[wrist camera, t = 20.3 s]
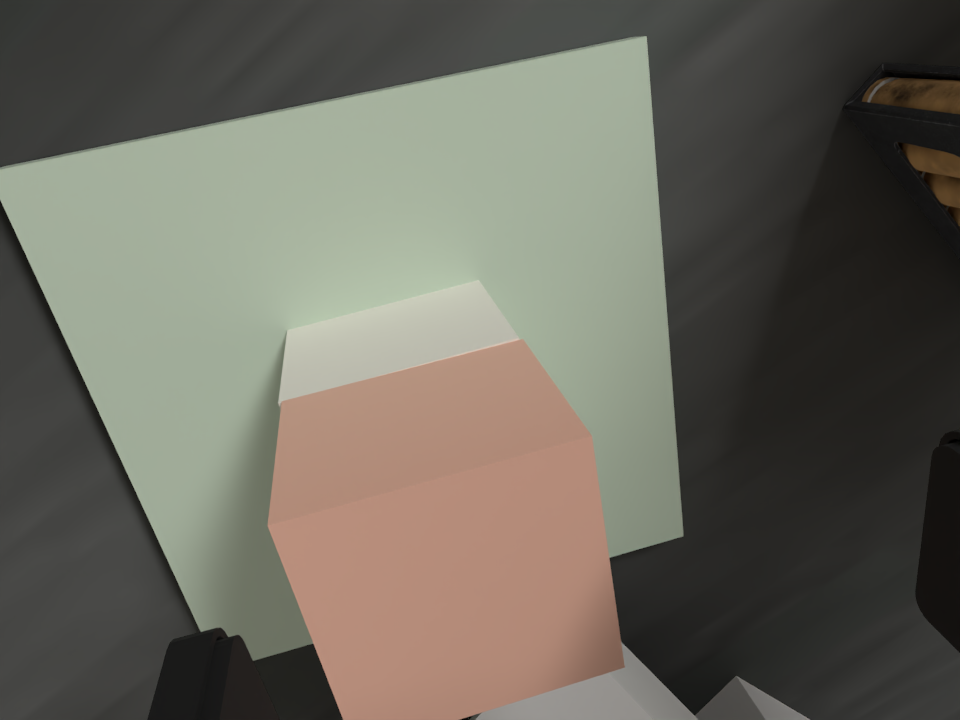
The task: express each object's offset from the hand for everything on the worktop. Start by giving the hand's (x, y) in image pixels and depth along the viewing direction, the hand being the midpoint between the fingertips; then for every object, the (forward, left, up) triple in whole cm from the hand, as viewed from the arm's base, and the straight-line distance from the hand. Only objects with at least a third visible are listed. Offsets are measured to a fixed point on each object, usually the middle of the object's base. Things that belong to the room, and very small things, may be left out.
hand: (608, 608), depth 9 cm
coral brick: (+2, +3, -9) cm, 10 cm away
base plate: (+2, +3, -15) cm, 15 cm away
